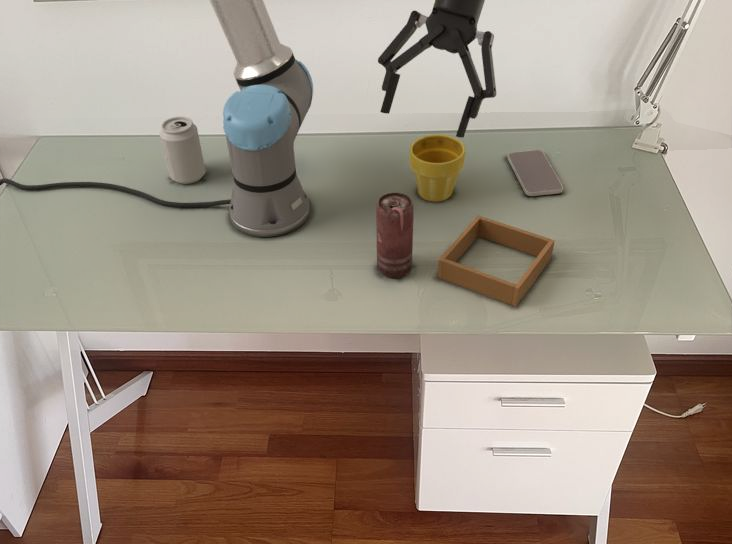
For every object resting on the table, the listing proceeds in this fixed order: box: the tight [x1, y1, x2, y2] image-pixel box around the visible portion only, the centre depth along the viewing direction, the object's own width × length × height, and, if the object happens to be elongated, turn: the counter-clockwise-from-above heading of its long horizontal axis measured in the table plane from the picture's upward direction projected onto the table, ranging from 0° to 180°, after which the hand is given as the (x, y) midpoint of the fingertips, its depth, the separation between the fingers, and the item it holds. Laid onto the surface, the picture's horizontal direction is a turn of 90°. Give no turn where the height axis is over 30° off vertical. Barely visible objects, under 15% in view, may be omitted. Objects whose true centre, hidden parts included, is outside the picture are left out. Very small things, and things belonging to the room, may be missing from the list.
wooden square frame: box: [437, 215, 556, 308], centre depth 130 cm, size 15×15×4 cm
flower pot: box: [409, 133, 466, 203], centre depth 145 cm, size 10×10×10 cm
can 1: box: [159, 116, 207, 185], centre depth 153 cm, size 8×8×12 cm
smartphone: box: [507, 149, 564, 197], centre depth 150 cm, size 7×1×15 cm
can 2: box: [375, 192, 415, 279], centre depth 128 cm, size 6×6×14 cm
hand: (421, 125), depth 127 cm, fingers open, 13 cm apart
